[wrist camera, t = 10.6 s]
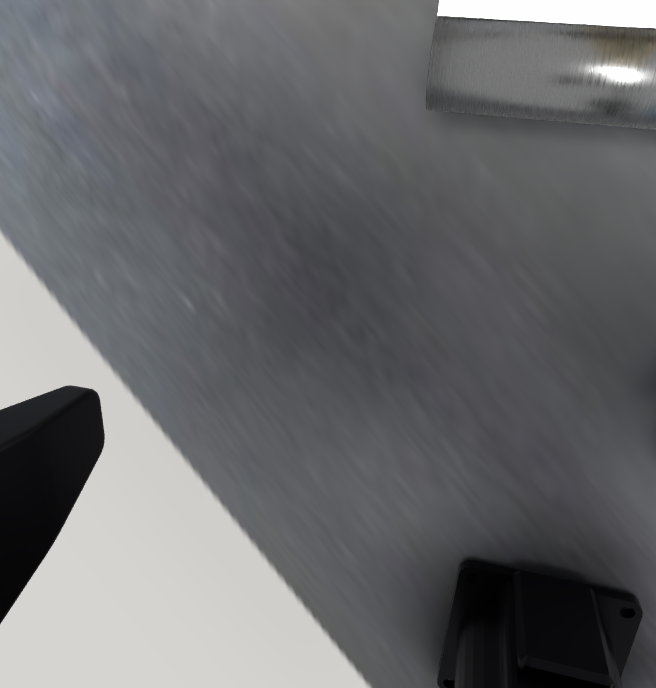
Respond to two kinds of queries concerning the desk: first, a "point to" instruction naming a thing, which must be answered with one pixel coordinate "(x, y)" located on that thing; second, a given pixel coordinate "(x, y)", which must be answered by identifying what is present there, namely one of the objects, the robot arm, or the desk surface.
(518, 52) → the metal roller frame
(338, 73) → the desk surface
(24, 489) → the robot arm
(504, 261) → the desk surface
